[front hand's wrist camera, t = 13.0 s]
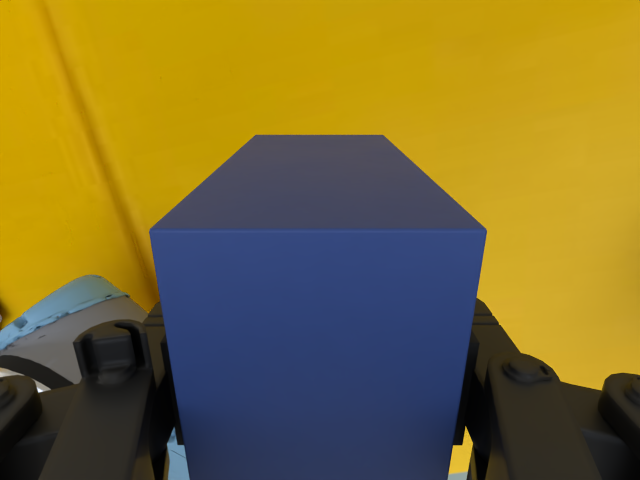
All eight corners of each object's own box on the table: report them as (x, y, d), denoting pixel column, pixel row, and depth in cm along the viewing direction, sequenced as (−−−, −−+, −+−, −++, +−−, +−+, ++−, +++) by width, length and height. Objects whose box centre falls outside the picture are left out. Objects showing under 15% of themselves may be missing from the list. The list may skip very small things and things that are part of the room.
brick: (383, 134, 15) (488, 228, 6) (373, 320, 18) (431, 586, 9) (254, 134, 15) (147, 229, 6) (265, 320, 18) (205, 586, 9)
